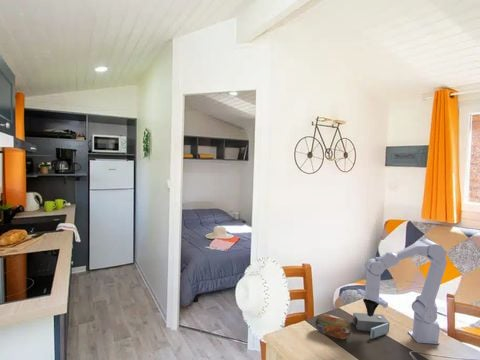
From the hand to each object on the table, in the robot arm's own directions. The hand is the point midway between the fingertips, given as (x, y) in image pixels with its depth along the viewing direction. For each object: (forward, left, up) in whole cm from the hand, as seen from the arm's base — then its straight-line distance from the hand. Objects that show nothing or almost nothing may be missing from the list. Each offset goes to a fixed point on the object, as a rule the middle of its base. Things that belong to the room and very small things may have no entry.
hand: (370, 315), depth 130 cm
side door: (-4, +1, -8) cm, 9 cm away
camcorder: (-3, -6, -8) cm, 10 cm away
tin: (+17, +3, -9) cm, 19 cm away
